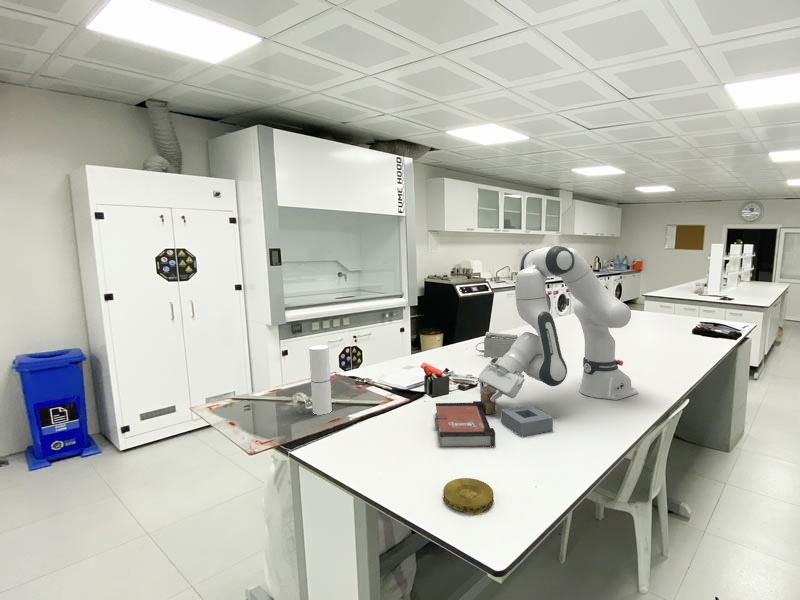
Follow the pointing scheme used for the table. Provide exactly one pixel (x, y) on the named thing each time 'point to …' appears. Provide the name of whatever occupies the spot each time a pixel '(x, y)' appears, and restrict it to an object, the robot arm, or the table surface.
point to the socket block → (526, 420)
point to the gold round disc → (468, 495)
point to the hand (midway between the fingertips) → (486, 398)
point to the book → (463, 425)
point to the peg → (488, 405)
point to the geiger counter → (497, 344)
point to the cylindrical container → (320, 379)
